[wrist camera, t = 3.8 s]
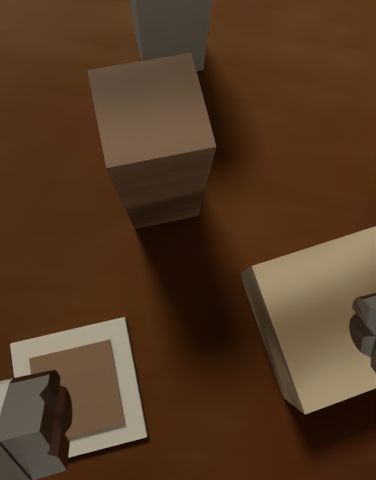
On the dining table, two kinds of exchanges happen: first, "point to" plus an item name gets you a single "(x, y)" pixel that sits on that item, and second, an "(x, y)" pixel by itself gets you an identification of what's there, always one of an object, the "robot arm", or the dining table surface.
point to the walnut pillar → (155, 136)
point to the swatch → (90, 381)
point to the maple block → (315, 318)
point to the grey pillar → (171, 28)
